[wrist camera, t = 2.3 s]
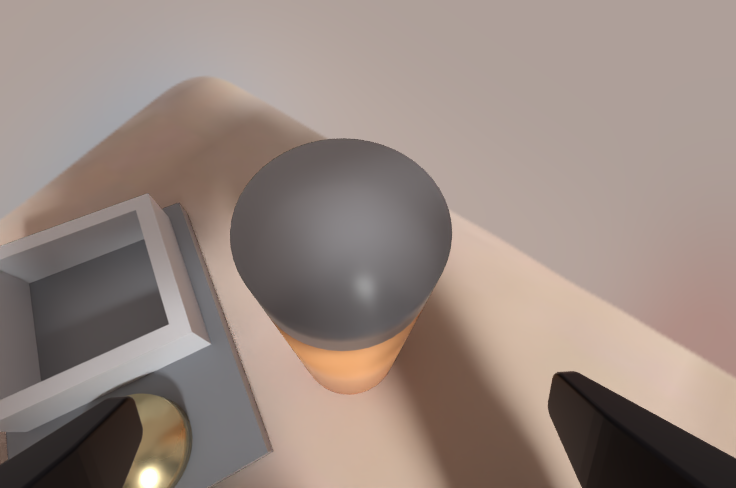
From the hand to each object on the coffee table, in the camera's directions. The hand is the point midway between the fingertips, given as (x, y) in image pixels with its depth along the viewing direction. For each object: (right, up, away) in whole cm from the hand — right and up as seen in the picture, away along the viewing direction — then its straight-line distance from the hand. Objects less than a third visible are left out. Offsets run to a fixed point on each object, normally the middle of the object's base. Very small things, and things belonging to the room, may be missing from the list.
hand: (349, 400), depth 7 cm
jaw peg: (-1, -2, +12) cm, 13 cm away
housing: (-12, -3, +12) cm, 17 cm away
